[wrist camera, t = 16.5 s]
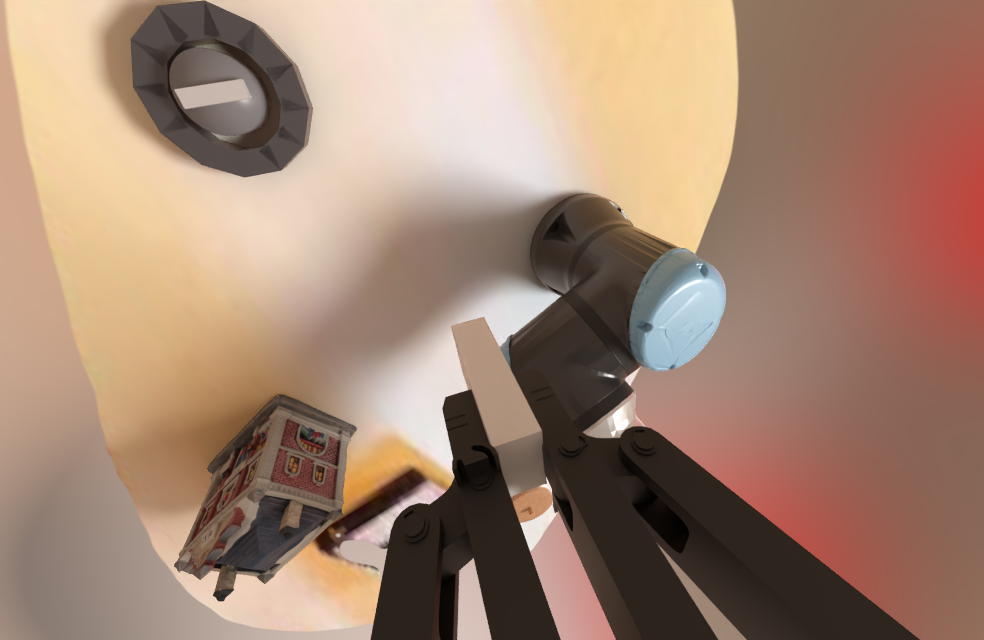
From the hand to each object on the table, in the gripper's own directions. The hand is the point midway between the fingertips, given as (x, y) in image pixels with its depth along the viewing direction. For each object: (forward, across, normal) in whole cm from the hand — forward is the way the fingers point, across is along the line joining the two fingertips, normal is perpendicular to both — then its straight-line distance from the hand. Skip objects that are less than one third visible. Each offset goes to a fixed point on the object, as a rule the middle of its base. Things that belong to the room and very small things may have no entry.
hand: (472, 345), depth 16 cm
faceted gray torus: (+32, +14, -12) cm, 37 cm away
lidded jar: (+33, -7, +64) cm, 72 cm away
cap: (+33, +14, -12) cm, 38 cm away
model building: (+33, +30, +34) cm, 56 cm away
